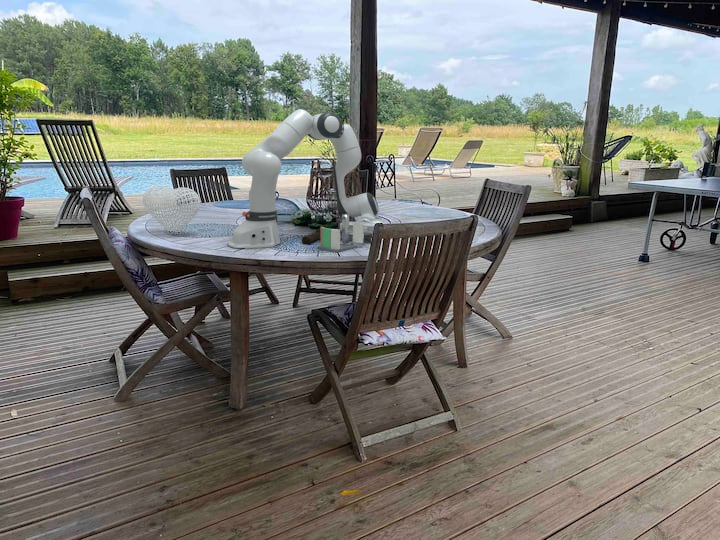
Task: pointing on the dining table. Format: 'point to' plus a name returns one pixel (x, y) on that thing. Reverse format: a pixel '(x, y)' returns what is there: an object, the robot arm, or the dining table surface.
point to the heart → (175, 192)
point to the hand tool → (311, 237)
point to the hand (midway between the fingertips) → (359, 230)
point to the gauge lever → (357, 231)
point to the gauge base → (333, 241)
